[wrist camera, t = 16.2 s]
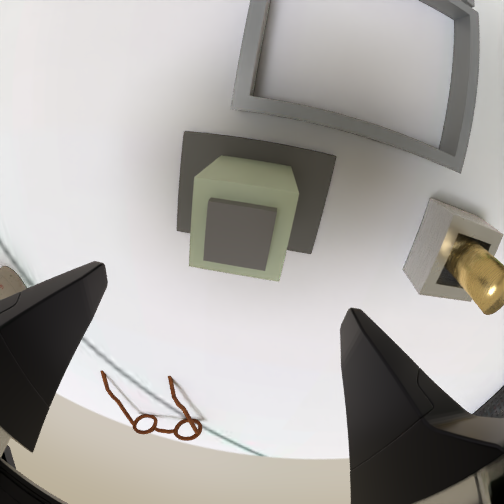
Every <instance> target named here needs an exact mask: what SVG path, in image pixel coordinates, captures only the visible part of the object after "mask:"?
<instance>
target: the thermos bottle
mask: <svg viewBox="0 0 504 504" xmlns="http://www.w3.org/2000/svg"><path fill="white" fill-rule="evenodd" d="M25 289H27V288H26V286H25V285H24V283H23V282H22V280H21V279H20V277H19V276H18V275H17V274H16V273H15V272H14V271H13V270H12V269H10V268H8V267H6V266H3V267H1V268H0V300H2V299H4V298H6V297H9V296H11V295H14V294H16V293H18V292H20V291H21V292H22V291H23V290H25Z"/></svg>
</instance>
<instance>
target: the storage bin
mask: <svg viewBox="0 0 504 504" xmlns="http://www.w3.org/2000/svg"><path fill="white" fill-rule="evenodd" d="M473 415H475V416H480V417H490V418H503V419H504V387H503V388H502V389H501V390H499V391H498V392H497V393H496V394H495V395H494V396H493V397H492V398H491V399H490V400H489V401H488V402H486V403H485V404H484V405H483V406H482V407H481V408H479V409H478V410H477V411H476V412H475V413H473Z"/></svg>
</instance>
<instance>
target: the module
mask: <svg viewBox="0 0 504 504" xmlns="http://www.w3.org/2000/svg"><path fill="white" fill-rule="evenodd" d="M298 197H299V191H298V188H297V184H296V181H295V178H294V174H293V171H292V168H291V166H286V165H281V164H275V163H269V162H263V161H257V160H251V159H244V158H237V157H230V156H222V155H221V156H220V157H219V158H217V159H216V160H215V161H214V162H212V163H211V164H210V165H209V166H207V167H206V168H205V169H204V170H202V171H201V172H200V173H199V174H197V175H196V176H195V177H194V187H193V200H192V215H191V233H190V254H189V266H191V267H197V268H202V269H208V270H213V271H219V272H225V273H230V274H236V275H242V276H248V277H254V278H260V279H266V280H272V281H278V282H279V280H280V276H281V271H282V267H283V263H284V259H285V255H286V250H287V246H288V242H289V238H290V233H291V229H292V224H293V220H294V215H295V211H296V206H297V202H298Z"/></svg>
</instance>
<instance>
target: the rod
mask: <svg viewBox="0 0 504 504" xmlns="http://www.w3.org/2000/svg"><path fill="white" fill-rule="evenodd" d="M444 267H445V268H446V269H447V270H448V271H449V272H450V274H451V275H452V276H453V277H454V278H455V279H456V280H457V281H458V283H459V284H460V285H461V286H462V287H463V288H464V290H465V291H466V292H467V293H468V294H469V295H470V297H471V298H472V299H473V300H474V302H475V303H476V304H477V305H478V307H479V308H480V309H481V310H482V312H483V313H484V314H486V315H490V314H493V313H495V312H496V311H498V310H499V309H500V308H501V307H502V306H503V305H504V265H503V264H502V263H500V262H499V261H498V260H497V259H496V258H495V257H494V256H493V255H491V254H490V253H489V252H488V251H487V250H486V249H485V248H483V247H482V246H481V245H480V244H479V243H477V242H476V241H475V240H474V239H472V238H471V237H469V236H466V235H463V234H460V233H458V235H457V238H456V240H455V243H454V245H453V247H452V250H451V252H450V254H449V257H448V259H447V261H446V263H445V265H444Z"/></svg>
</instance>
